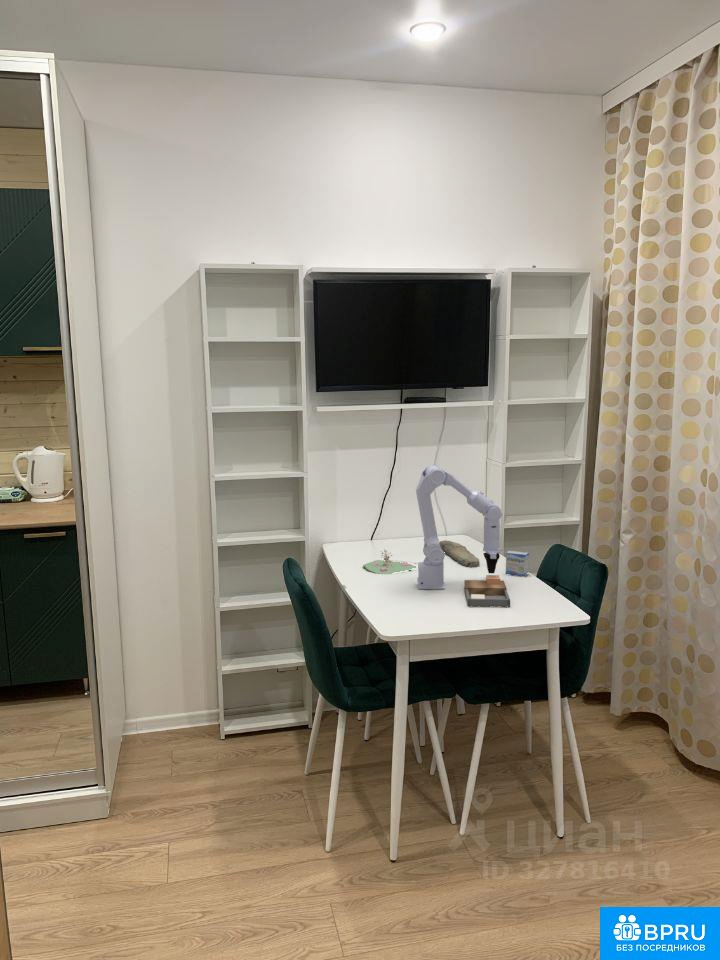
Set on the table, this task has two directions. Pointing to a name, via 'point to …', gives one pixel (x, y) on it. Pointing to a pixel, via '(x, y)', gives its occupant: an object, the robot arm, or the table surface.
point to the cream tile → (477, 596)
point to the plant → (387, 566)
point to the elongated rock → (459, 553)
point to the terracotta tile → (492, 579)
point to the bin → (489, 600)
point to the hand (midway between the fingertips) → (491, 572)
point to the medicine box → (517, 563)
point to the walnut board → (484, 587)
